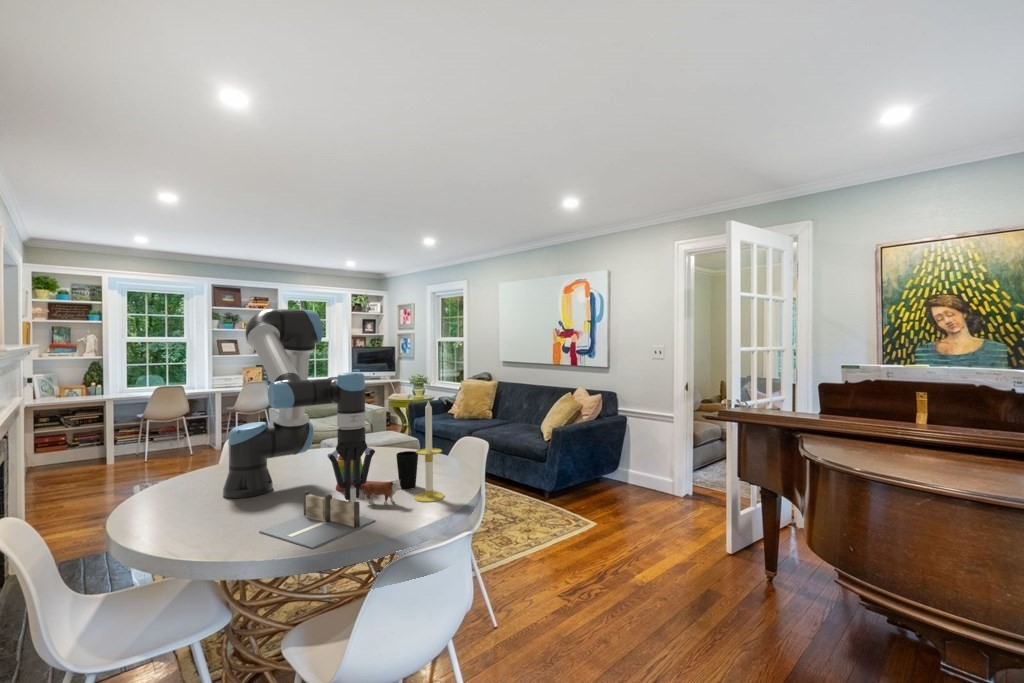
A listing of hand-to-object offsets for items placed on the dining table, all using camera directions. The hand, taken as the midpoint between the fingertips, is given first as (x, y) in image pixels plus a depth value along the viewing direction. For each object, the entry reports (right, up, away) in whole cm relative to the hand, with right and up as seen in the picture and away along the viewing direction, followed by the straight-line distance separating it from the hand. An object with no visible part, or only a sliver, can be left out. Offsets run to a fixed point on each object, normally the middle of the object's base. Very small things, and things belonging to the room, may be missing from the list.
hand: (352, 510), depth 134 cm
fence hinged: (-1, -3, -2) cm, 4 cm away
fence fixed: (-11, -3, +4) cm, 12 cm away
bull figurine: (+4, -4, +17) cm, 18 cm away
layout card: (-9, -4, -2) cm, 10 cm away
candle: (+18, -4, +23) cm, 29 cm away
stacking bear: (-12, -4, +34) cm, 37 cm away
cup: (+8, -4, +34) cm, 35 cm away
